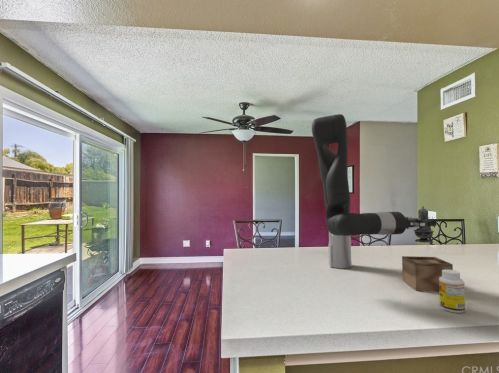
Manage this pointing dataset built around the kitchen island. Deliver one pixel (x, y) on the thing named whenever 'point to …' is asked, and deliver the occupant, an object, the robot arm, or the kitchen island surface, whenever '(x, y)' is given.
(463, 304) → the supplement bottle
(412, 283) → the stand
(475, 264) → the kitchen island surface
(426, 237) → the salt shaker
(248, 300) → the kitchen island surface
